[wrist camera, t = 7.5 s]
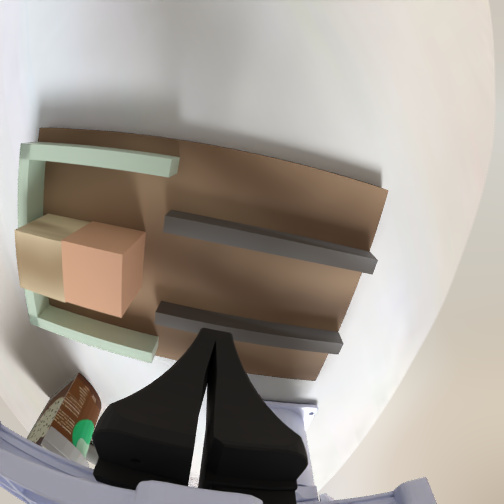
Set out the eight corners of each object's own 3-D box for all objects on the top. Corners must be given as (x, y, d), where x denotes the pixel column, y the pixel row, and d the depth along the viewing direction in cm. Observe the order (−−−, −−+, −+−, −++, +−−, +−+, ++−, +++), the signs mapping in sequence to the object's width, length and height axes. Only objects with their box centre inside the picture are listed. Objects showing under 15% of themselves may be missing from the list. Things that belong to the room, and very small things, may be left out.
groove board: (313, 372, 24) (318, 393, 21) (49, 315, 22) (35, 330, 19) (382, 188, 18) (398, 194, 16) (47, 127, 16) (27, 128, 14)
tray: (158, 346, 21) (151, 363, 19) (42, 311, 20) (30, 323, 19) (179, 157, 17) (171, 159, 15) (37, 141, 16) (20, 143, 14)
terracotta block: (141, 286, 20) (121, 317, 16) (91, 274, 19) (65, 301, 15) (146, 231, 18) (122, 254, 14) (92, 221, 18) (61, 240, 14)
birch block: (91, 275, 19) (65, 302, 15) (49, 263, 19) (20, 286, 15) (92, 222, 18) (61, 242, 14) (48, 213, 17) (14, 230, 14)
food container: (84, 431, 28) (60, 489, 19) (46, 401, 26) (15, 458, 17) (132, 404, 25) (105, 484, 16) (84, 367, 24) (42, 443, 14)
